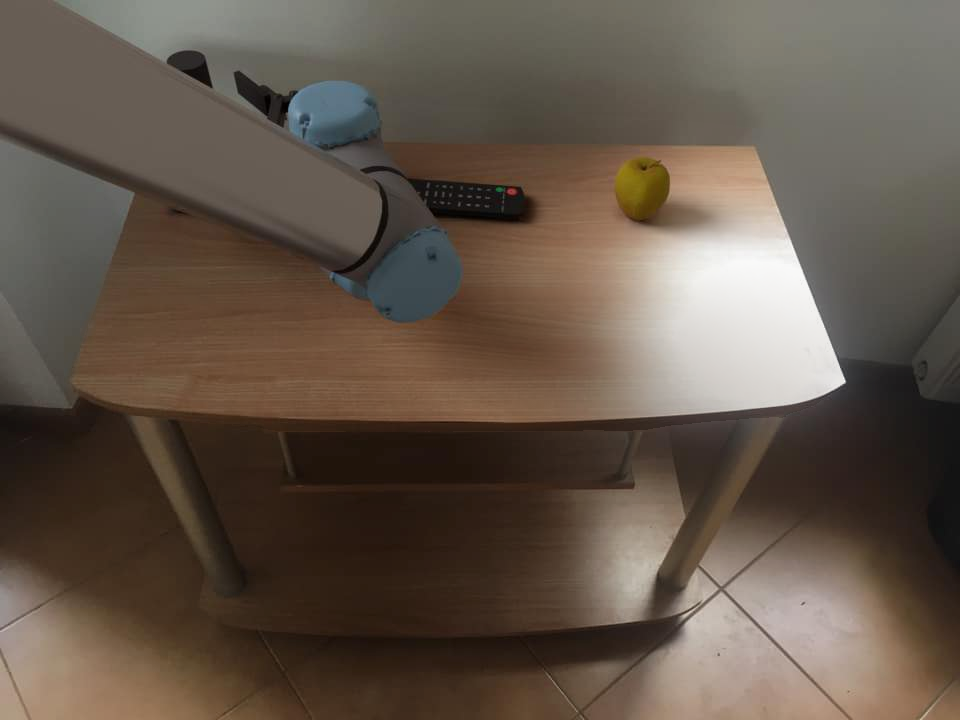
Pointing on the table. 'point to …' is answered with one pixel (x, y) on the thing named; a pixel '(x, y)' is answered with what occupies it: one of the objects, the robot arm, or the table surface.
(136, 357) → the table surface
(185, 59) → the tall dark cylinder
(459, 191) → the remote control
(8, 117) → the robot arm
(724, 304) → the table surface
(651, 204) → the apple
